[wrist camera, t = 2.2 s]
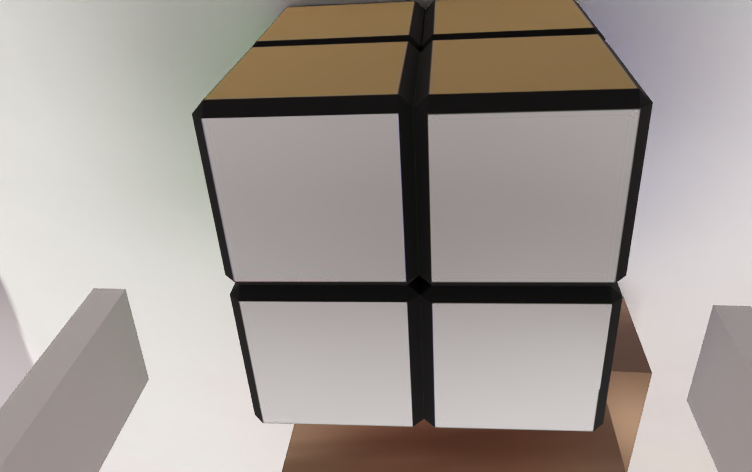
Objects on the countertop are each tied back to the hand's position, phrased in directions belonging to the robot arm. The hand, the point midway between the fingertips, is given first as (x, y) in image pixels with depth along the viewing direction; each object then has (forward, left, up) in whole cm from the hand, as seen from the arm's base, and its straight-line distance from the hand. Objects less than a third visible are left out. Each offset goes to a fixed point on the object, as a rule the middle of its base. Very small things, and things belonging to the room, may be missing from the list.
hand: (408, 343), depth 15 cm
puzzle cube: (0, 0, -12) cm, 12 cm away
